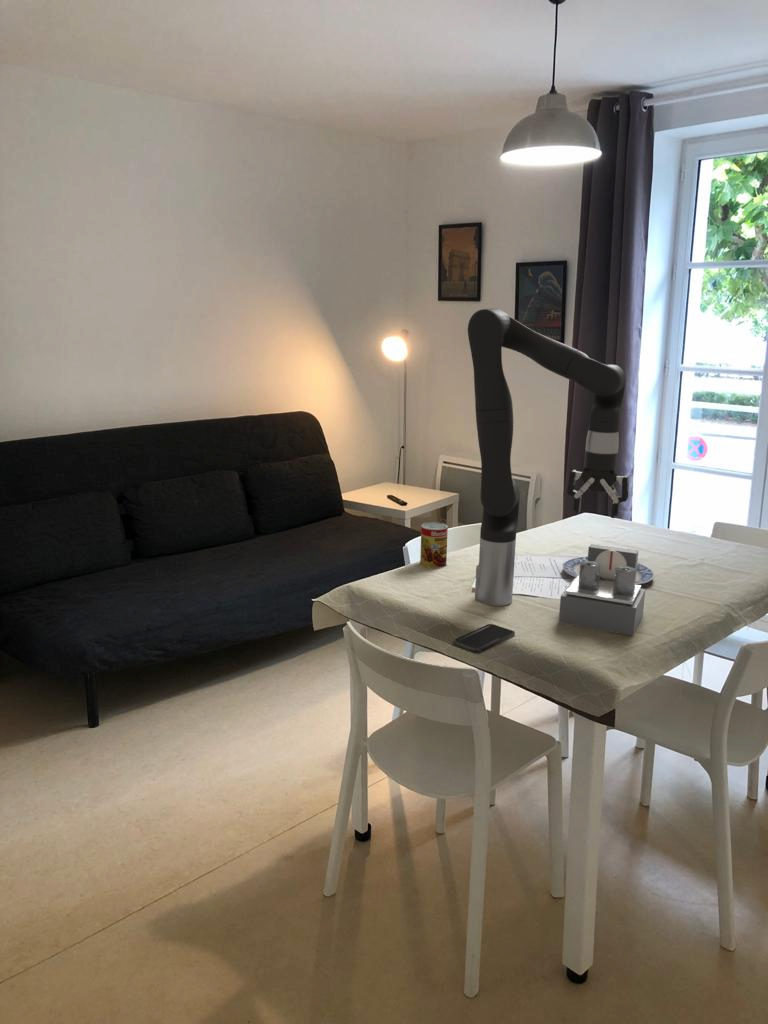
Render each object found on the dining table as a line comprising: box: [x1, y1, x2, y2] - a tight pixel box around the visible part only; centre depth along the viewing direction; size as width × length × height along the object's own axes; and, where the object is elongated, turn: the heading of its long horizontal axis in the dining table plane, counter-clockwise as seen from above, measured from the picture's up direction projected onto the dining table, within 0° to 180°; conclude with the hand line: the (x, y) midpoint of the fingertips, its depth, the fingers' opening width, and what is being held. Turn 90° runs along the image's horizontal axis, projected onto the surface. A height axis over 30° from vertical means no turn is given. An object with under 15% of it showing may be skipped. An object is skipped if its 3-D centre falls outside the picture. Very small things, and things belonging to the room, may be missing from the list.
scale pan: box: [565, 576, 642, 605], centre depth 206 cm, size 16×13×1 cm
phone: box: [453, 623, 516, 654], centre depth 194 cm, size 8×1×15 cm
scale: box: [558, 543, 646, 636], centre depth 207 cm, size 18×18×16 cm
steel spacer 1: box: [578, 561, 601, 590], centre depth 206 cm, size 5×5×6 cm
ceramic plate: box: [562, 556, 655, 585], centre depth 240 cm, size 26×26×3 cm
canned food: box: [419, 522, 449, 569], centre depth 247 cm, size 8×8×12 cm
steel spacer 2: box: [613, 566, 636, 596], centre depth 202 cm, size 5×5×6 cm
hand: (595, 515), depth 202 cm, fingers open, 8 cm apart
